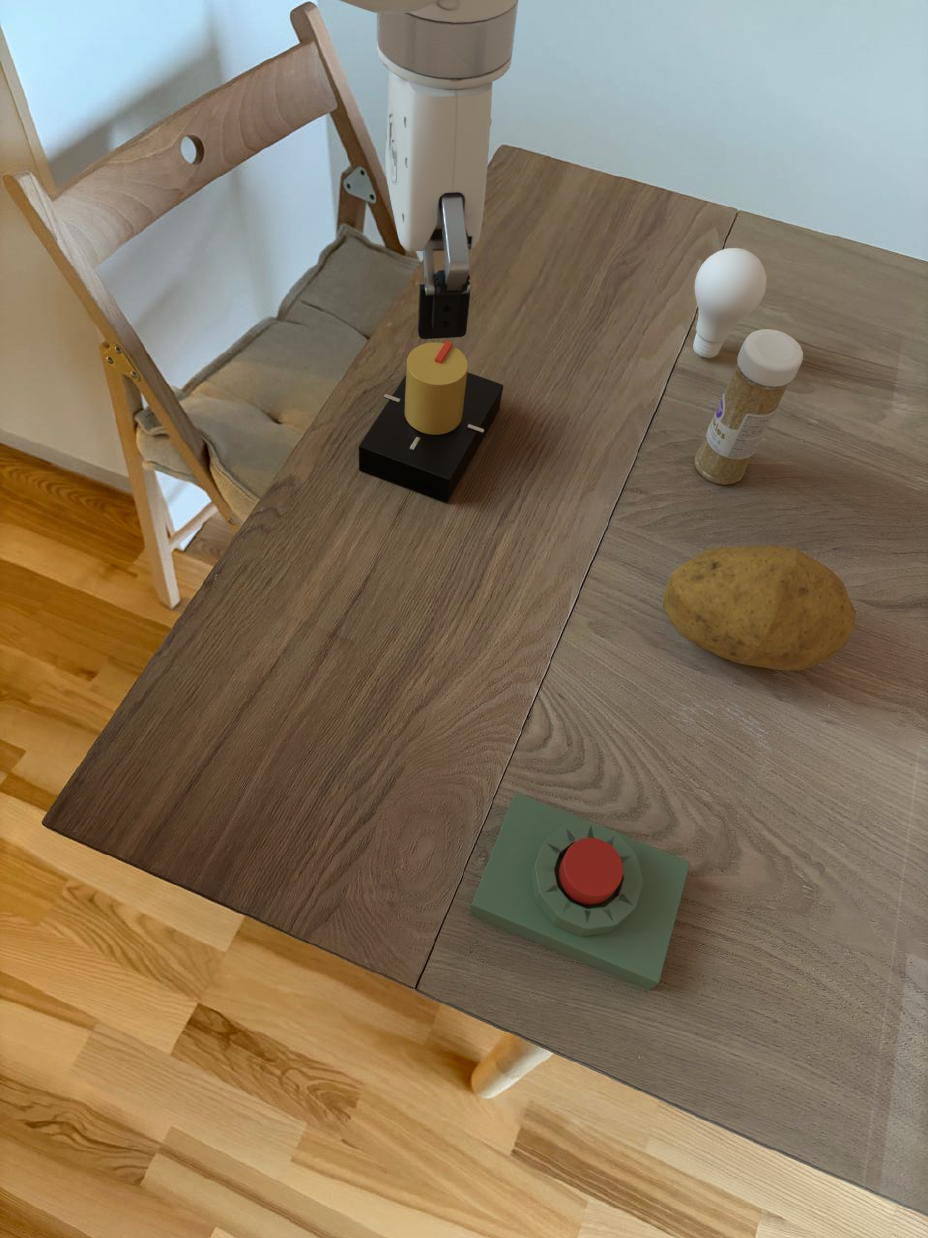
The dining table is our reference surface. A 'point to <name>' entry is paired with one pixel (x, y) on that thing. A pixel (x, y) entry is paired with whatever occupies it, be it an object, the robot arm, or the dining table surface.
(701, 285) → the lightbulb
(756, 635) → the potato
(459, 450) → the plate
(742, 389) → the spice jar
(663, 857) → the green button box
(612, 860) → the bell button
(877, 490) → the dining table surface
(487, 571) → the dining table surface
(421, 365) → the lock knob
